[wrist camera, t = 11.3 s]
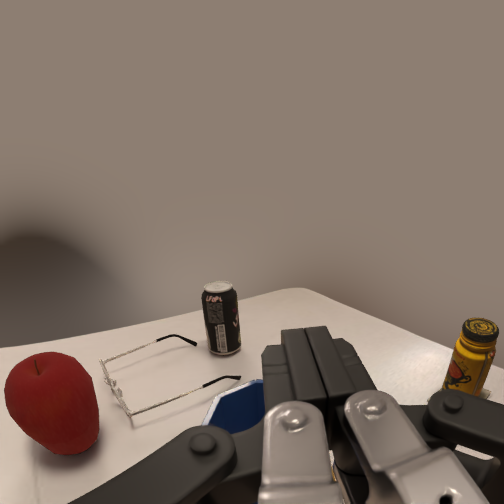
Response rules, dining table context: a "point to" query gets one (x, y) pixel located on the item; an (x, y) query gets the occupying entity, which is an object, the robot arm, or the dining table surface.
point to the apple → (54, 402)
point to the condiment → (472, 357)
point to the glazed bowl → (237, 408)
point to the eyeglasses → (130, 413)
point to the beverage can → (221, 317)
